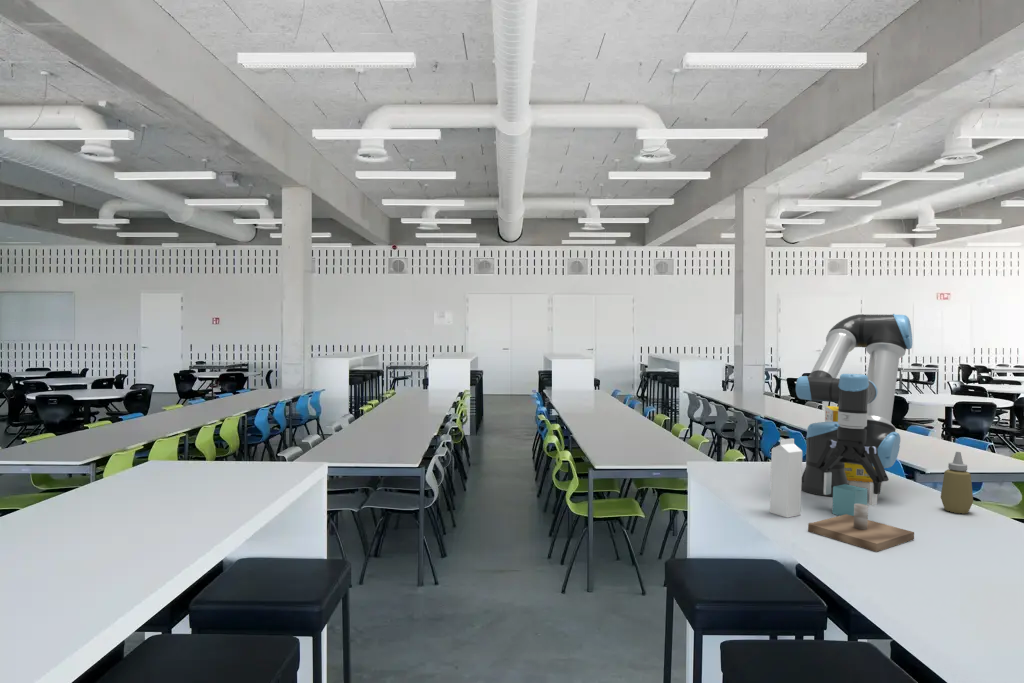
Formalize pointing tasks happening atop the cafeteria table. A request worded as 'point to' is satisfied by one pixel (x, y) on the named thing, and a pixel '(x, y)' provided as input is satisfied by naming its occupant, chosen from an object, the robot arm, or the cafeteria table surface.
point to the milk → (786, 479)
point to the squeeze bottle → (957, 487)
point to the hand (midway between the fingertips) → (849, 499)
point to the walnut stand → (861, 530)
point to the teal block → (847, 498)
